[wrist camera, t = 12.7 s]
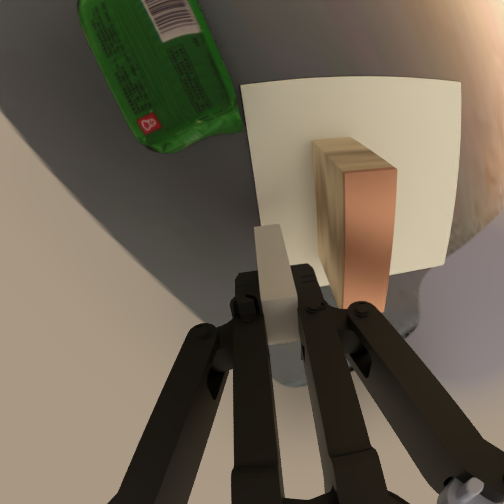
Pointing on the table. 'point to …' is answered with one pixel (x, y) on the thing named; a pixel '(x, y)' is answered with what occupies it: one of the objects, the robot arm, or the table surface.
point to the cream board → (371, 136)
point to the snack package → (162, 70)
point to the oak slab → (354, 219)
